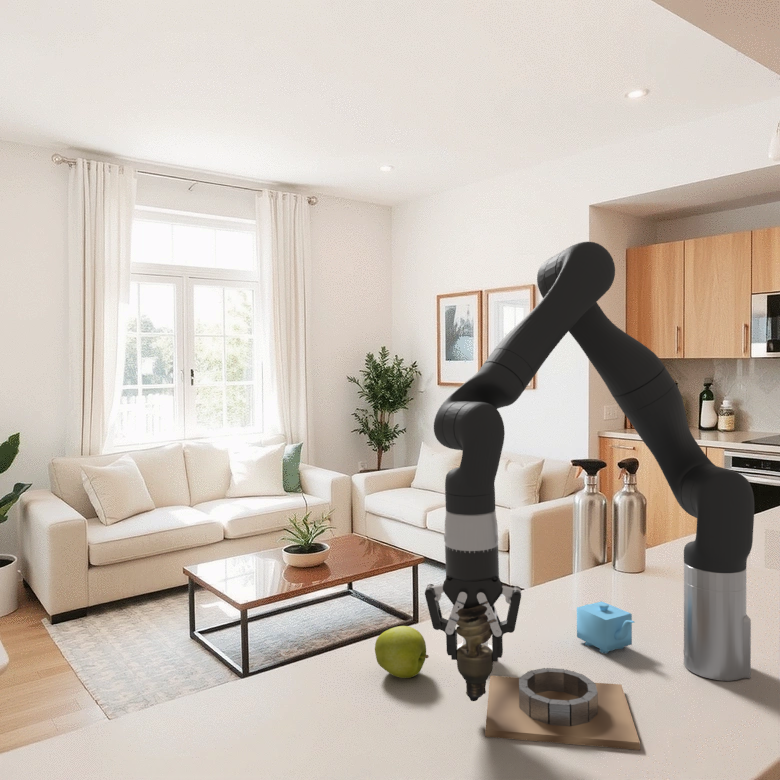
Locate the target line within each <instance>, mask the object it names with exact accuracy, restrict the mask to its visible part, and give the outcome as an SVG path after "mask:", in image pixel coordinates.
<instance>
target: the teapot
mask: <svg viewBox="0 0 780 780" xmlns="http://www.w3.org/2000/svg"><path fill="white" fill-rule="evenodd" d="M632 614H633V613H631V612H629V611H626V610H624V609H621V608H619V607H617V606H614V605H612V604H609V603H607V602H604V601H601V600H600V601H598V602H594V603H589V604H584V605H582V606H577V607H576V637H577V638H578V639H580V640H581V641H584V645H585V646H588V647H592V646H594V647H596V648H598V649H599V653H601V654H609V652H610V651H615V650H617V649H618V650H623V649H624V647H628V646H632V644H633V631H632V630H633V629H632V628H633V627H632V626H633V624H634V623H636V622H635V620H633V615H632Z"/></svg>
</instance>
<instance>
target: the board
mask: <svg viewBox="0 0 780 780" xmlns="http://www.w3.org/2000/svg"><path fill="white" fill-rule="evenodd" d="M519 678H520V676H519V677H518V676H517V677H516V676H505V675H490V676H489V685H488V695H487V706H486V707H487V709H486V715H485V716H486V719H485V720H486V721H485V727H484V728H485V730H484V732H485V734H484V735H485V738H495V739H507V740H520V741H530V742H531V741H532V742H543V743H553V744H554V743H555V744H565V745H575V746H577V745H578V746H589V747H600V748H601V747H602V748H612V749H625V750H636V751H640V750H641V741H640V739H639V736H638V732H637V729H636V727H635V723H634V721H633V720H634V719H633V717H632V714H631V710H630V707H629V704H628V701H627V697H626V695H625V692H624V687H623V685H622V684H619V683H617V684H616V683H606V682H594V683H595V684H596V688H597V692H598V713H597V715H596V716H595V717H594V718H593V719H592V720H591V721H590V722H588V723H584V724H580V725H576V726H570V727H569V726H557V725H550V723H549V724H545V723H543V722H540V721H537V720H534V719H532V718H531V717H528V716H527V715H526V714H525V713H524V712H523V711H522V710H521V709H520V707H519ZM536 694H537V695H540V696H542V697H545V698H548V699H553V700H567V701H568V700H573V699H577V698H579V697H577V696H574V695H571V694H568V693H565V692H556V691H545V692H541V693H536Z"/></svg>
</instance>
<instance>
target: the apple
mask: <svg viewBox="0 0 780 780" xmlns="http://www.w3.org/2000/svg"><path fill="white" fill-rule="evenodd" d="M374 645H375V646H374V652H375V658H376V662H377V663H378V664H377V665H379V666H380V667H381V668H382V669H384V670H385V671H386V672H387V673H389V674H390V675H392V676H393V677H396V678H398V679H399V678H400V679H410V678H414V677H415V676H417V675H418V674H419V673H420V672H421V670H422V669H423V666H424V664H425V661H426V659H428V658H429V657H430V656H429V655H428V654H427V644H426V641H425V638H424V636H423V634H422V633H420V631H419V630H417V629H415V628H414V627H412V626H408V625H399V626H394V627H391V628H389V629H387V630H385V631H383V632H382V633H380V635H379V636H378V637H377V638H376V640H375V644H374Z"/></svg>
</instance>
